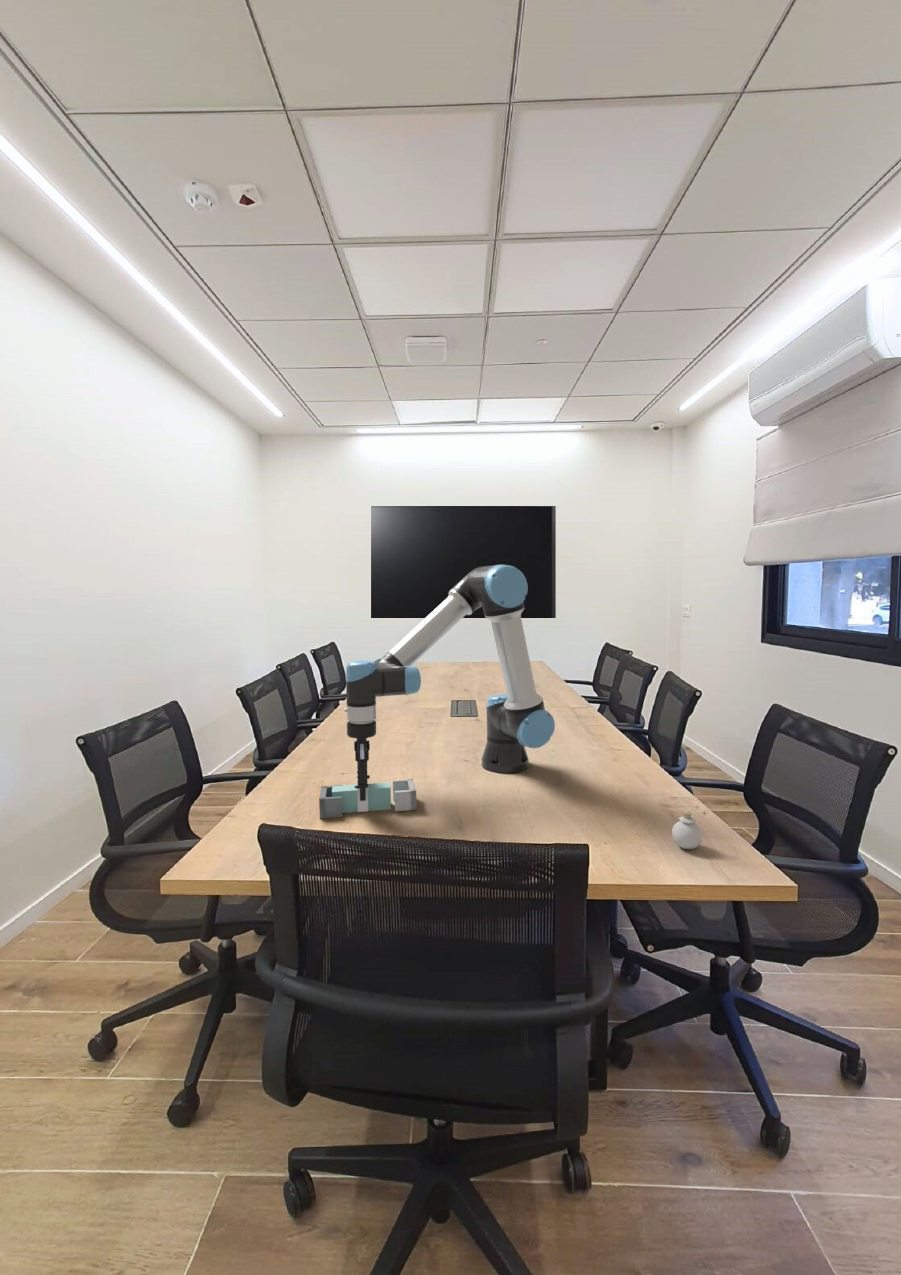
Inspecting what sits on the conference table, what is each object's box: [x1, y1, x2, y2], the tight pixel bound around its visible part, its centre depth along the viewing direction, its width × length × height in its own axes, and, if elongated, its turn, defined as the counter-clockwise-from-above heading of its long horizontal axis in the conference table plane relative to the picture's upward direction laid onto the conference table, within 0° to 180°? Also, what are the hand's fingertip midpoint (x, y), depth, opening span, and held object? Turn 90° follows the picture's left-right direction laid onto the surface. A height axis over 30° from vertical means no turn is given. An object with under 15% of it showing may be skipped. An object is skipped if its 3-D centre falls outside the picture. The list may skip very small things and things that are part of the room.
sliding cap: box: [392, 778, 418, 812], centre depth 144 cm, size 6×9×5 cm, turn 10°
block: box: [332, 781, 392, 814], centre depth 142 cm, size 15×4×6 cm, turn 100°
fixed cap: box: [318, 784, 343, 819], centre depth 141 cm, size 6×9×5 cm, turn 10°
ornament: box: [671, 804, 708, 850], centre depth 119 cm, size 6×7×10 cm
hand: (362, 807), depth 142 cm, fingers open, 4 cm apart
